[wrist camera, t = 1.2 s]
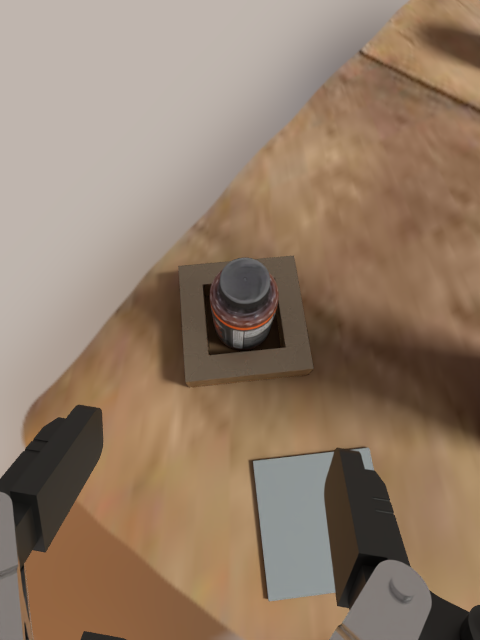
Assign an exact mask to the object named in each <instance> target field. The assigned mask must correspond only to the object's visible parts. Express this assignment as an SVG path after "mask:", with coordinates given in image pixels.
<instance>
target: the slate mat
mask: <svg viewBox="0 0 480 640" xmlns="http://www.w3.org/2000/svg"><path fill="white" fill-rule="evenodd" d="M353 450H354V451H359V452H360V453H361V456H362V460H363V464H364V467H365V469H368V470H374V469H373V464H372V459H371V454H370V450H369V448H361V449H353ZM333 454H334V452H327V453H318V454H309V455H301V456H292V457H283V458H275V459H266V460H257V461H253V466H254V475H255V484H256V493H257V502H258V511H259V520H260V529H261V538H262V547H263V556H264V565H265V574H266V583H267V592H268V600H269V601H275V600H283V599H290V598H298V597H305V596H313V595H320V594H328V593H335V584H334V576H333V567H332V559H331V551H330V543H329V535H328V527H327V518H326V510H325V502H324V487H325V481H326V477H327V474H328V471H329V467H330V464H331V461H332V458H333Z"/></svg>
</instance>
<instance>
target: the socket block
mask: <svg viewBox="0 0 480 640" xmlns="http://www.w3.org/2000/svg"><path fill="white" fill-rule="evenodd" d="M255 260H257V261H259V262H260V263H262V264H263V265H264V266H265V267H266V269H267V270H268V272H269V273H270V274H271V275H272V276H273V278H274V280H275V281H276V284H277V287H278V292H279V300H278V305H277V308H276V317H277V324H278V331H279V337H280V344H281V348H276V349H267V350H257V351H247V352H237V353H227V354H218V355H210V353H209V341H208V329H207V317H206V305H205V296H210V288H211V284H212V282H213V280H214V278H215V277H216V276H217V274H218V273H219V272H220V271H221V270H223V269H224V267H225V266H226V265H227V264H228V263H229V262H231V261H229V262H218V263H207V264H196V265H185V266H178V267H179V284H180V301H181V317H182V334H183V350H184V367H185V382H186V384H187V385H188V387H199V386H208V385H218V384H227V383H237V382H246V381H255V380H265V379H274V378H284V377H293V376H303V375H308V374H309V373H310V372H311V371H312V370H313V369H314V368H313V362H312V356H311V350H310V345H309V339H308V333H307V328H306V322H305V316H304V310H303V305H302V299H301V293H300V288H299V282H298V276H297V270H296V265H295V259H294V256H284V257H273V258H262V259H255Z"/></svg>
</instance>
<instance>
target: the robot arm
mask: <svg viewBox="0 0 480 640" xmlns="http://www.w3.org/2000/svg"><path fill="white" fill-rule="evenodd" d="M102 448H103V424H102V410H101V409H100V408H96V407H90V406H84V405H77V406H76V407H75V408H74V409H73V410H72V411H71V413H70V414H69V415H68V417H67V418H66V419H65V418H59V417H58V418H57V419H55V420H54V421H52V422H50V423H49V424H47V425H46V426H44V427H43V428H42V429H41V431H40V432H39V433H38V434H37V435H36V437H35V438H34V440H33V441H31V443H30V444H29V445H28V446H27V447H26V449H25V451H23V452H22V453H21V455H20V456H19V457H18V458H17V459H16V461H15V462H14V463H13V464H12V465H11V467H10V468H9V469H8V470H7V471H6V472H5V474H4V475H3V476H2V477H1V479H0V640H33V634H32V626H31V617H30V609H29V599H28V590H27V580H26V571H25V565H24V563H25V561H26V560H27V558H28V556H29V555H30V553H31V551H32V550H35V551H41V552H46V551H47V549H48V547H49V546H50V544H51V542H52V540H53V539H54V537H55V535H56V533H57V532H58V530H59V528H60V526H61V525H62V523H63V521H64V519H65V517H66V516H67V514H68V512H69V511H70V509H71V507H72V506H73V504H74V502H75V500H76V499H77V497H78V495H79V493H80V492H81V490H82V488H83V486H84V485H85V483H86V481H87V479H88V478H89V476H90V474H91V473H92V471H93V469H94V467H95V466H96V464H97V462H98V460H99V458H100V455H101V452H102ZM324 502H325V510H326V518H327V527H328V535H329V543H330V551H331V559H332V567H333V576H334V584H335V592H336V600H337V606H340V607H346V608H349V609H350V611H349V613H348V614H347V616H346V618H345V619H344V621H343V622H342V624H341V625H339V626H338V627H337V628H336V630H335V631H334V633H333V635H332V636H331V638H330V639H329V640H480V605H477V606H475V607H473V608H472V609H471V611H470V612H468V611H466V610H464V609H462V608H460V607H458V606H456V605H454V604H452V603H450V602H448V601H446V600H444V599H442V598H440V597H438V596H437V595H435V594H434V593H432V592H431V591H430V590H429V589H428V587H427V585H426V583H425V582H424V580H423V579H422V578H421V576H420V575H419V574H418V573H417V572H416V571H415V570H413V569H412V568H411V566H410V563H409V561H408V557H407V554H406V551H405V548H404V544H403V541H402V538H401V534H400V531H399V528H398V525H397V521H396V518H395V515H394V514H393V513H394V512H393V508H392V505H391V503H390V499H389V495H388V492H387V489H386V486H385V484H384V482H383V481H382V480H381V478H380V477H379V476H378V474H377V473H376V471H374V470H368V469H365V467H364V464H363V460H362V456H361V453H360V452H359V451H354V450H347V449H341V448H336V449H335V451H334V454H333V458H332V461H331V464H330V467H329V471H328V474H327V477H326V481H325V487H324ZM81 640H126V639H124V638H118V637H113V636H108V635H102V634H96V633H92V632H85V631H84V632H83V635H82V638H81Z"/></svg>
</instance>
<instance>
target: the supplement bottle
mask: <svg viewBox="0 0 480 640" xmlns="http://www.w3.org/2000/svg"><path fill="white" fill-rule="evenodd" d="M278 300H279V292H278V287H277V284H276V281H275V280H274V278H273V276H272V275H271V274H270V273H269V272H268V270H267V269H266V267H265V266H264V265H263V264H262V263H260V262H259V261H257V260H255V259H252V258H238V259H235V260H233V261H231V262H229V263H228V264H227V265H226V266H225V267H224V269H223V270H221V271H220V272H219V273H218V274H217V276H216V277H215V278H214V280H213V282H212V284H211V288H210V304H211V310H212V316H213V321H214V328H215V331H216V333H217V335H218V337H219V338H220V340H221V341H222V342H223V343H224V344H226V345H227V346H228V347H230V348H233V349H237V350H249V349H253V348H255V347H257V346H259V345H260V344H261V343H262V342H263V341H264V340H265V339H266V338H267V336H268V334H269V332H270V329H271V325H272V322H273V319H274V315H275V312H276V308H277V305H278Z"/></svg>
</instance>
